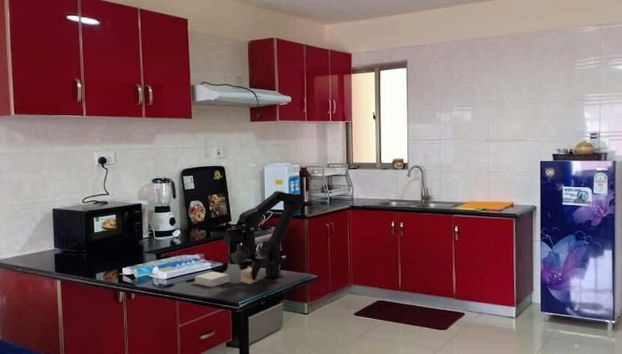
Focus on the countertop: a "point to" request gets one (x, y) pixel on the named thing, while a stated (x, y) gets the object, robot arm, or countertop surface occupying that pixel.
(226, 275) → the riser
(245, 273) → the birch cube
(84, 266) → the countertop surface
